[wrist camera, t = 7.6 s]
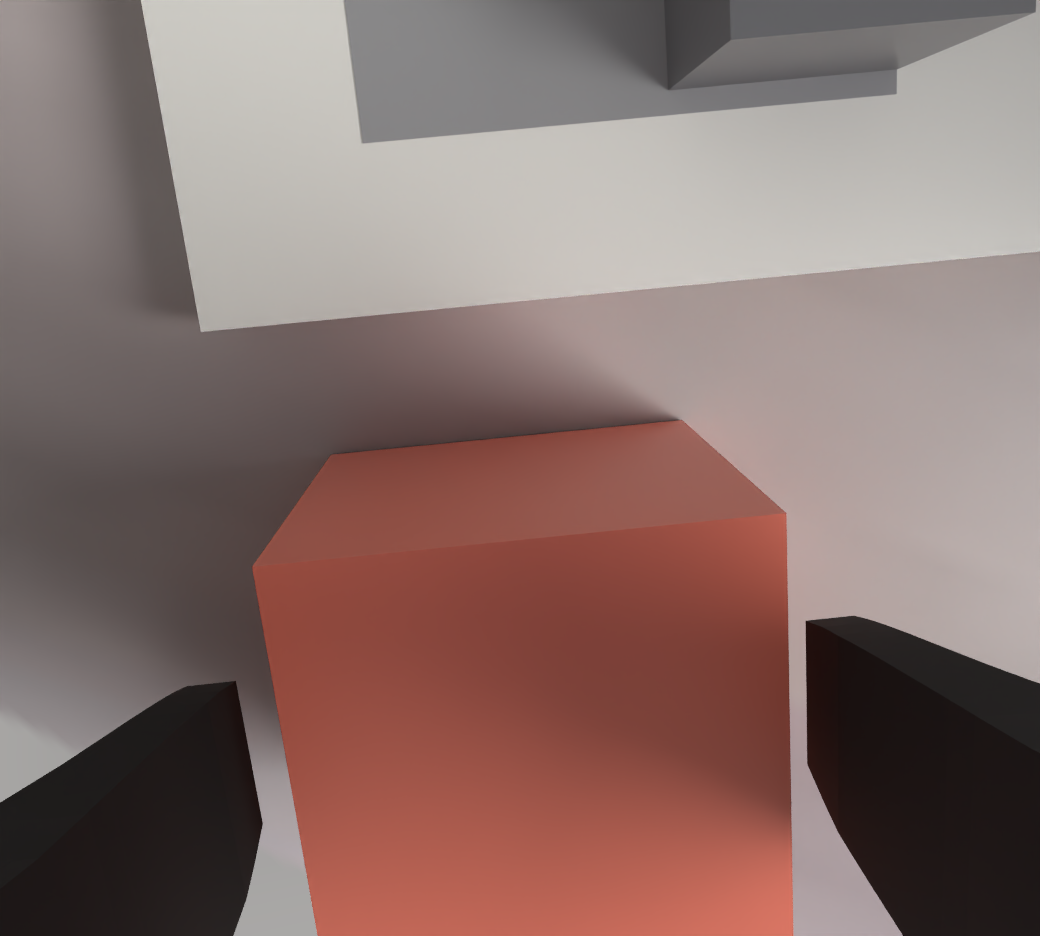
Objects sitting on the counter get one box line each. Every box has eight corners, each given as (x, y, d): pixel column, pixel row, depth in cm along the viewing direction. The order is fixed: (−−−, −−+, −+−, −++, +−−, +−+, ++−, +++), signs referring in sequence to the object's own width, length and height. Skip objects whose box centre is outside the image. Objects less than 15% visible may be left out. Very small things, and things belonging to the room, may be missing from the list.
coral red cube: (681, 419, 14) (786, 512, 9) (696, 732, 16) (793, 954, 11) (331, 454, 14) (252, 566, 9) (376, 766, 15) (330, 1005, 11)
